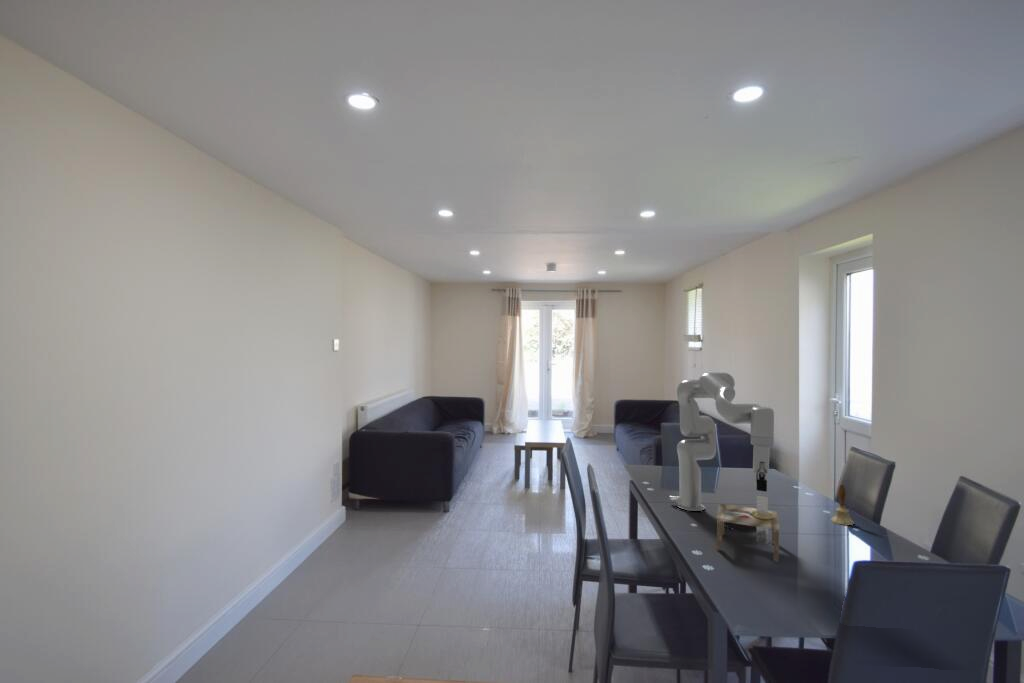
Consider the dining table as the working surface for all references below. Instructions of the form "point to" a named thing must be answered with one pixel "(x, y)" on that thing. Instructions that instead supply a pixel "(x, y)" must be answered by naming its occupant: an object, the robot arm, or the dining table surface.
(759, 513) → the peg
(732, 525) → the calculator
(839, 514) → the hand bell
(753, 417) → the robot arm
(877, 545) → the dining table surface
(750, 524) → the shelf
